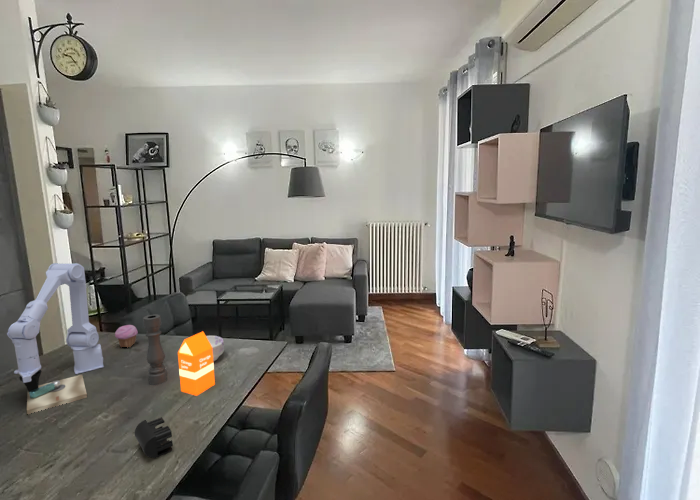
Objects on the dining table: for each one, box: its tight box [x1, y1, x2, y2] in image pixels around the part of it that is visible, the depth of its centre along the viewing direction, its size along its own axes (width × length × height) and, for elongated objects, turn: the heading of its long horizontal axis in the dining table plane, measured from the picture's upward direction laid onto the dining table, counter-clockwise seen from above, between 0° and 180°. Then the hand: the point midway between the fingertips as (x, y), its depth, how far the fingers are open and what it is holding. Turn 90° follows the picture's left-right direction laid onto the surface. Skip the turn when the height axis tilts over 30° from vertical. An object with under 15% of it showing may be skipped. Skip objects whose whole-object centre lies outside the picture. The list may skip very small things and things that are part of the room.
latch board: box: [26, 374, 88, 415], centre depth 136 cm, size 16×18×2 cm
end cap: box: [134, 416, 174, 459], centre depth 107 cm, size 10×7×7 cm
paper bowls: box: [206, 335, 225, 362], centre depth 162 cm, size 15×15×8 cm
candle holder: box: [142, 313, 168, 386], centre depth 143 cm, size 6×6×25 cm
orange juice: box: [177, 330, 216, 397], centre depth 138 cm, size 8×9×20 cm
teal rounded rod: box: [29, 379, 61, 398], centre depth 134 cm, size 9×2×2 cm, turn 154°
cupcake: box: [114, 324, 138, 349], centre depth 176 cm, size 9×9×10 cm
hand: (33, 393), depth 133 cm, fingers closed, pressing on teal rounded rod
